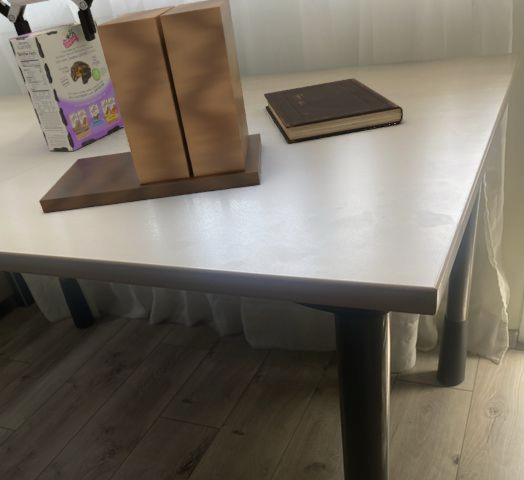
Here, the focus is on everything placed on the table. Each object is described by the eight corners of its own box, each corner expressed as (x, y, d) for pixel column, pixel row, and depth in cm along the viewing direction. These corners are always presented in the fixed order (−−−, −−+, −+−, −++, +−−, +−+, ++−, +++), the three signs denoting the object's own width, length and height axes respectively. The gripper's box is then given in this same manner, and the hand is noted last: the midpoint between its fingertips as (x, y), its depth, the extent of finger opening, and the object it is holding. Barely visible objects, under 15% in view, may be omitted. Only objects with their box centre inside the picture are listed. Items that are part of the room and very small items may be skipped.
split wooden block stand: (43, 212, 63) (-24, 46, 53) (81, 169, 76) (33, 28, 66) (260, 184, 61) (234, 4, 50) (261, 144, 74) (241, -6, 63)
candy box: (101, 126, 97) (70, 22, 87) (127, 126, 94) (97, 18, 84) (47, 151, 87) (5, 37, 77) (74, 151, 85) (33, 33, 75)
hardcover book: (288, 143, 72) (286, 126, 71) (265, 108, 91) (264, 93, 89) (403, 123, 72) (403, 105, 71) (357, 92, 91) (357, 77, 90)
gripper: (-58, -86, 70) (-1, 58, 80) (66, -112, 69) (109, 39, 79) (-33, -84, 76) (18, 51, 86) (82, -107, 74) (120, 33, 85)
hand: (61, 45), depth 82 cm, fingers open, 9 cm apart
